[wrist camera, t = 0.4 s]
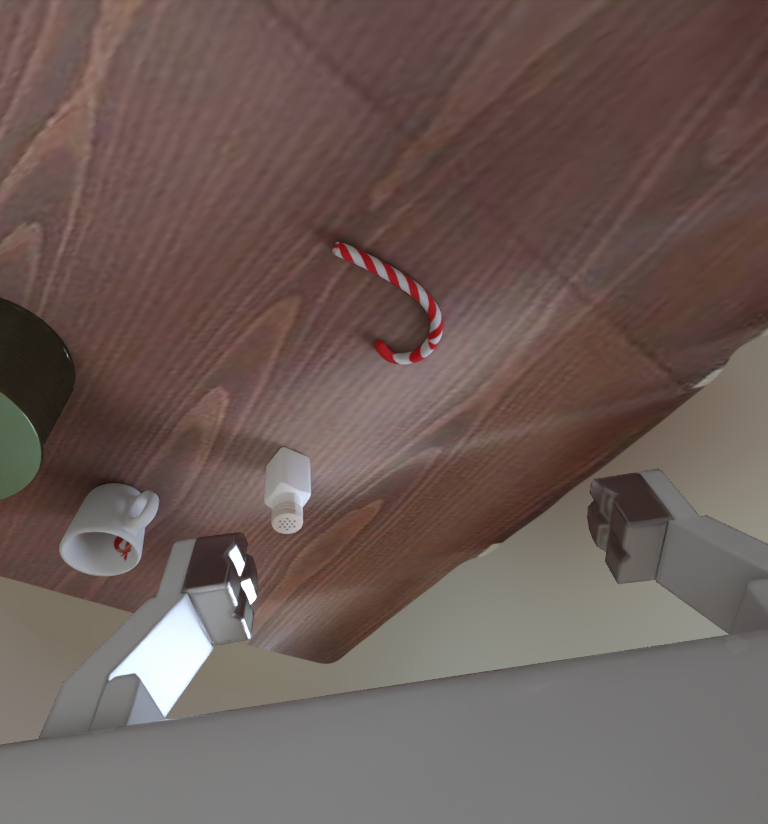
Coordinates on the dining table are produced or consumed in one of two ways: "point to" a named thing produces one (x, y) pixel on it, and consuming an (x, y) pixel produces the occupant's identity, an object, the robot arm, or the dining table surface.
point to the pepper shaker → (287, 489)
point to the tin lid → (17, 445)
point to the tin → (34, 365)
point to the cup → (109, 530)
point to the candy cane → (409, 287)
